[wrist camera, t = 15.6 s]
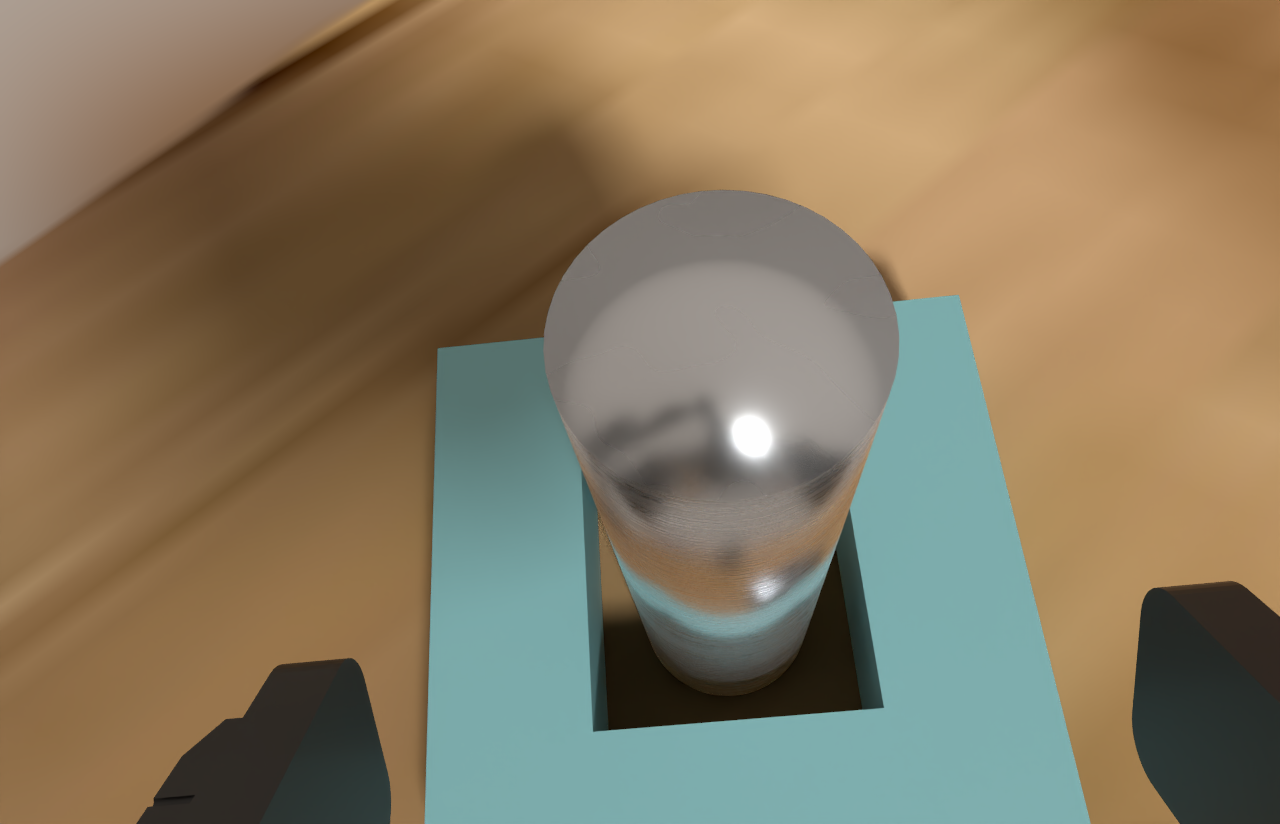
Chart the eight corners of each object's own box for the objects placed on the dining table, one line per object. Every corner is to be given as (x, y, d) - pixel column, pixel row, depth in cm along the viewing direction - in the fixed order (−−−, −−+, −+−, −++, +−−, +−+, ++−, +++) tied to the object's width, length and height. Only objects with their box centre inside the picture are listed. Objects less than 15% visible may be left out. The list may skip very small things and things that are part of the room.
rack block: (461, 924, 21) (421, 936, 18) (467, 399, 26) (437, 348, 24) (1055, 881, 20) (1106, 887, 18) (934, 353, 26) (958, 295, 23)
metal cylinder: (650, 702, 23) (547, 517, 10) (639, 542, 24) (539, 209, 12) (818, 688, 22) (932, 481, 10) (795, 528, 24) (866, 173, 11)
